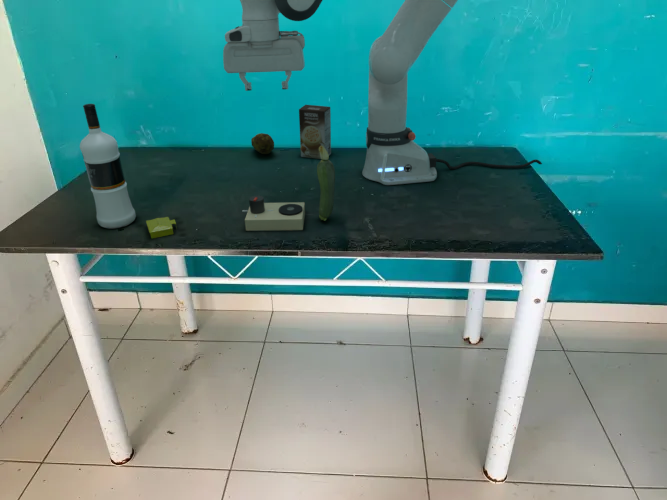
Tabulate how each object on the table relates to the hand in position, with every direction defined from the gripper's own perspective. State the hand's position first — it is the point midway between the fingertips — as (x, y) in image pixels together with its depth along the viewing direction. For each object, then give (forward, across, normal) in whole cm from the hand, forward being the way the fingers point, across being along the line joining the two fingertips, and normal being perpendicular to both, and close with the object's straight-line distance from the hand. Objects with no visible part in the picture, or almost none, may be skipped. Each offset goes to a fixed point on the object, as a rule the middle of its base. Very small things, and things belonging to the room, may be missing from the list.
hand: (267, 89), depth 134 cm
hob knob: (+26, +3, +18) cm, 32 cm away
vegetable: (+29, -15, +19) cm, 38 cm away
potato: (+29, +8, -34) cm, 45 cm away
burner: (+26, -6, +18) cm, 32 cm away
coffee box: (+29, -10, -32) cm, 44 cm away
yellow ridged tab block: (+29, +26, +22) cm, 45 cm away
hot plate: (+29, -2, +18) cm, 34 cm away
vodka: (+28, +39, +17) cm, 51 cm away
